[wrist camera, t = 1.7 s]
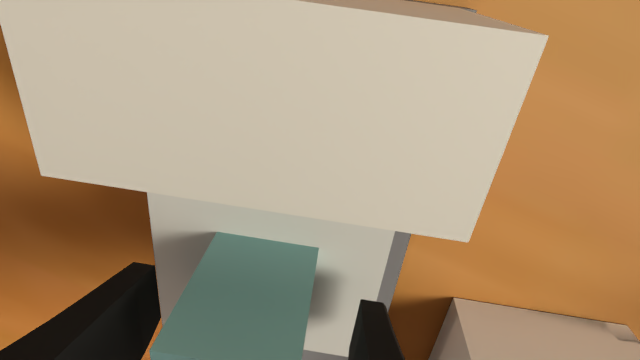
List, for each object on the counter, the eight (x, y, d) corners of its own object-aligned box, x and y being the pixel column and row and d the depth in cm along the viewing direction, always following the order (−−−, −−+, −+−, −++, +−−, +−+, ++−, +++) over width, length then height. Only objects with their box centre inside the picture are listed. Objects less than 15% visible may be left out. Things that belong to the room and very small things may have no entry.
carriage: (361, 293, 16) (360, 500, 9) (196, 266, 16) (90, 452, 10) (391, 165, 13) (418, 341, 7) (190, 134, 13) (33, 277, 7)
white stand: (349, 429, 23) (344, 589, 17) (191, 402, 24) (131, 550, 18) (468, 8, 12) (581, 40, 6) (158, -36, 12) (-48, -49, 6)
